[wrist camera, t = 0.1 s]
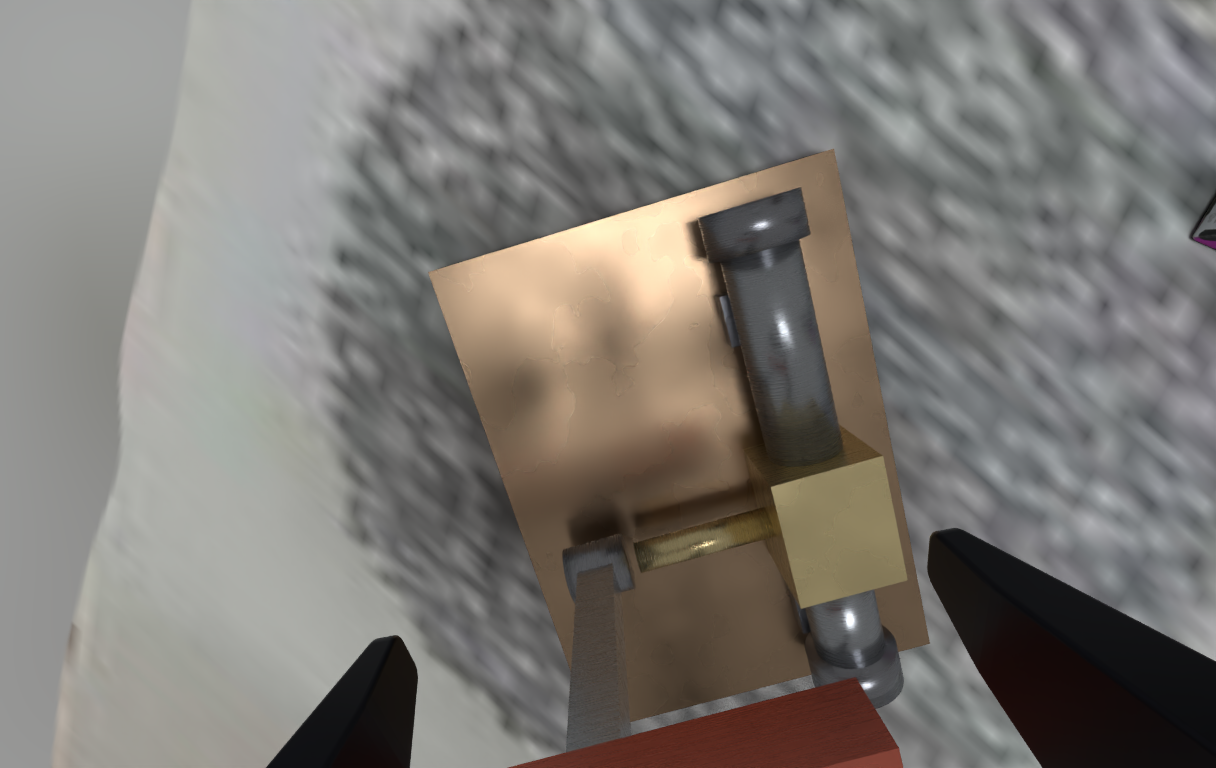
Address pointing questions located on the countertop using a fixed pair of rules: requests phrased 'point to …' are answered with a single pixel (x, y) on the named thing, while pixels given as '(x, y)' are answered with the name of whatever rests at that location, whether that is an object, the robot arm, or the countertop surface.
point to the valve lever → (704, 747)
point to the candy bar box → (1207, 228)
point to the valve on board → (702, 434)
